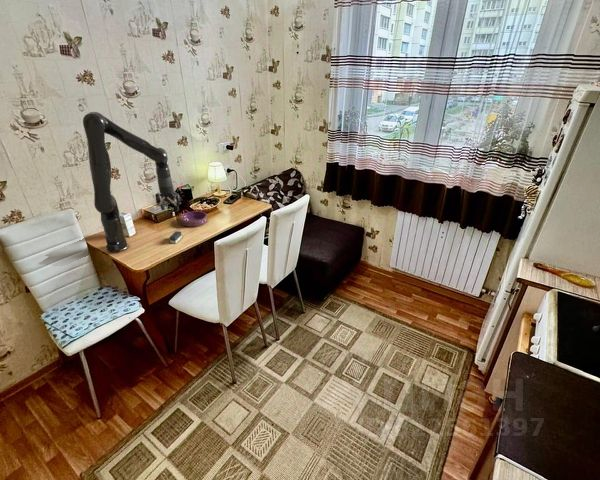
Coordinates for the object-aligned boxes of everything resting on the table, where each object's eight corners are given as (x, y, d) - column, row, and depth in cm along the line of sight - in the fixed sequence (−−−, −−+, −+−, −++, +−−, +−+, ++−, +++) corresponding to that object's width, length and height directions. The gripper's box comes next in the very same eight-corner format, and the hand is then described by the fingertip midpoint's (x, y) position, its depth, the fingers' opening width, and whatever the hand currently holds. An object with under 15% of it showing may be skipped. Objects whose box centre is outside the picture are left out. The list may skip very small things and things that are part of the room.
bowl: (201, 228, 206) (200, 222, 204) (177, 226, 208) (176, 220, 206) (211, 217, 221) (210, 212, 219) (188, 216, 223) (187, 210, 221)
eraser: (176, 243, 187) (174, 237, 186) (170, 242, 188) (169, 237, 186) (182, 237, 194) (181, 231, 193) (176, 236, 195) (175, 231, 193)
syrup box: (136, 233, 198) (130, 212, 191) (129, 237, 193) (123, 216, 186) (129, 231, 199) (123, 211, 193) (122, 235, 194) (115, 215, 188)
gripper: (150, 185, 171) (155, 212, 179) (174, 187, 170) (178, 214, 178) (157, 181, 178) (162, 207, 186) (180, 183, 176) (184, 209, 184)
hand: (170, 210), depth 182 cm, fingers open, 8 cm apart
